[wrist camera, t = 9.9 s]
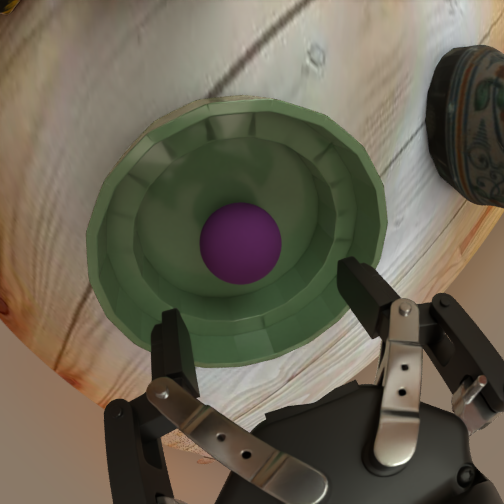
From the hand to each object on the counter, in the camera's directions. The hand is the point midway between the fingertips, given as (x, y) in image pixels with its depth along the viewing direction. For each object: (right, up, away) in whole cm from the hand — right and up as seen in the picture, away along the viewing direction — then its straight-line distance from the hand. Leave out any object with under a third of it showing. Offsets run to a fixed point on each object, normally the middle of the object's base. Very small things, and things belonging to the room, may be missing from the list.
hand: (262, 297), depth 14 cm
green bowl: (-2, +4, +7) cm, 8 cm away
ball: (-1, +3, +4) cm, 5 cm away
